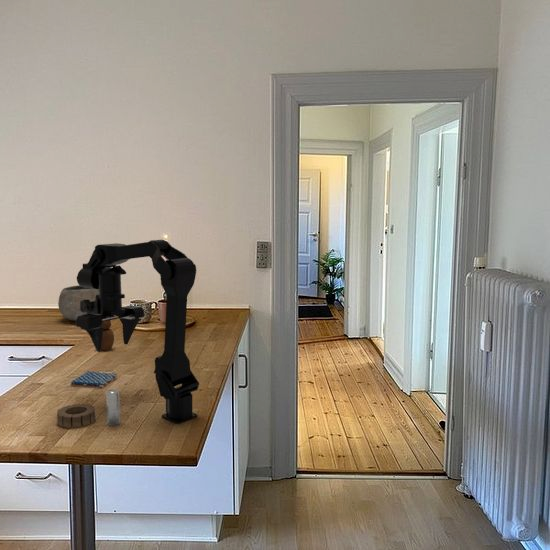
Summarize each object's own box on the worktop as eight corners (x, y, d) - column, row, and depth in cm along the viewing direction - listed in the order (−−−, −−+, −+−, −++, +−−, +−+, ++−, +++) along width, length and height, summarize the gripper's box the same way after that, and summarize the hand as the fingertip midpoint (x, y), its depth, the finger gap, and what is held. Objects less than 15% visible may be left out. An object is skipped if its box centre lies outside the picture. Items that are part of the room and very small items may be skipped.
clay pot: (55, 326, 231) (54, 291, 229) (62, 316, 251) (61, 283, 249) (108, 324, 236) (107, 289, 234) (111, 314, 256) (110, 282, 254)
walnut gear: (102, 419, 136) (101, 409, 135) (69, 430, 129) (69, 420, 129) (82, 411, 141) (82, 401, 141) (50, 421, 135) (50, 410, 134)
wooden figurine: (117, 349, 198) (116, 308, 196) (102, 352, 194) (101, 310, 192) (107, 346, 202) (106, 305, 200) (92, 349, 198) (91, 307, 196)
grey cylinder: (122, 423, 134) (121, 391, 133) (111, 426, 132) (110, 394, 131) (115, 419, 136) (114, 388, 135) (104, 423, 134) (103, 391, 133)
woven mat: (119, 379, 168) (119, 372, 168) (102, 390, 158) (102, 383, 157) (87, 376, 170) (87, 370, 169) (68, 388, 159) (68, 381, 159)
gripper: (117, 284, 160) (119, 337, 162) (61, 292, 145) (64, 351, 147) (144, 287, 154) (146, 342, 156) (88, 296, 139) (91, 357, 141)
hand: (112, 347), depth 150 cm, fingers open, 9 cm apart
